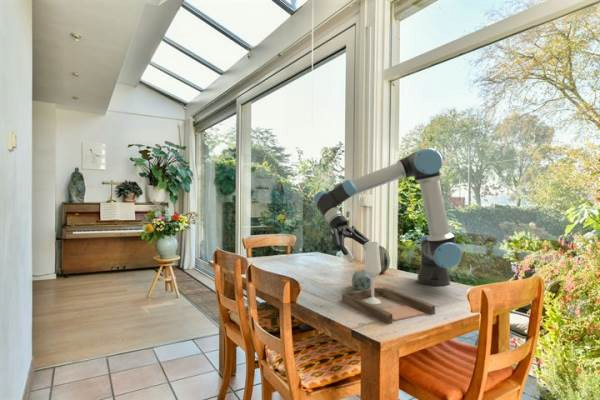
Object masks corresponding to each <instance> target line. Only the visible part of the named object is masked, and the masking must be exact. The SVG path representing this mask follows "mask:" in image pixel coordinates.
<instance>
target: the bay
mask: <svg viewBox="0 0 600 400" xmlns="http://www.w3.org/2000/svg"><path fill="white" fill-rule="evenodd" d="M380 296H383V297H385V298H388V299H391V300H394V301H396V302H398V303H400V304H403V305H406V306H408V307H411V308H413V309H416V310H418V311H421V312H423V313H425V314H428V315H434V314H436V305H435V304H432V303H430V302H426V301H424V300H421V299H418V298H416V297H413V296H411V295H410V296H409V295H408V294H404V293H401V292H399V291H396V290H393V289H390V288H388V287H385V286H383V287H374V297H375V298H376V297H380ZM370 297H371V288H369V289H365V290H359V291H358V290H354V291H353V290H352V291H348V292H344V293H341V302H342V303H345V304H346V305H348V306H351V307H353V308H355V309H357V310H358V311H361V312H362V313H364V314H367V315H368V316H370V317H373V318H375V319H377V320H378V321H381V322H383V323H385V324H387V325H389V324H393V320H392V314H391V313H389V312H386V311H384V309H381V308H380V307H377V306H375V305H374V304H369V303H366V302H365V300H363V299H368V298H370Z"/></svg>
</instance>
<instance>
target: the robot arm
mask: <svg viewBox="0 0 600 400" xmlns="http://www.w3.org/2000/svg"><path fill="white" fill-rule="evenodd" d="M442 166H443V157H442V155H441V153H440V152H439V151H438V150H436V149H434V148H431V147H424V148H421V149H418V150H417V151H414V152H411V154H409V155H407V156H406V157H404V158H401V159H398V160H396V163H393V164H391V165H388V166H385V167H383V168H380V169H378V170H374V171H372V172H369V173H367V174H366V173H365V174H364V175H361V176H359V177H357V178H353V179H350V178H348V179H346V180H344V181H342V182H341V183H339V184H336V185H335V186H334V188H333V189H331V190H330V191H326V190H320V191H318V192H316V194H315V195H314V197H313V198H312V199H313V203H314V204H315V206H316V208H317V209H318V210H319V212H320V214H321V215H322V216H323V218H324V219H325V221H326V222H327V224H328V225H329V227H330V228H331V230H330V234H331V236H332V241H333V245H334V248H335V250H336V249H337V251H339V252H340V251H341V253H342V254H343V256H345V258H346V260H347V261H348V262H349V263H350V264H351V263H352V262H353V261H354V260H355V259H356V258H355V257H354V255H353V254H352V252H351V251H350V249H349V248H348V247H347V245H345V238H347V239H348V238H349V239H352V240H353V241H355V242H357V243H359V244H360V245H361V246H362V248H363V249H364V251H365V252H366V245H367V242H370V238H368V237H366V236H365V235H364V234H363V233H362V232H361V231H359V230H358V229H357V228H356V227H355V225H352V226H349V224H348V220H347V218H346V217H345V216H344V215H343V213H342V212H341V210H340V209H339V207H338V206H340V205H341V204H342V203H344V202H345V201H347V200H348V199H350V198H351V197H353V196H355V195H359V194H362V193H363V192H367V191H370V190H372V189H376V188H378V187H380V186H383V185H386V184H388V183H391V182H394V181H397V180H400V179H403V180H405V179H408V178H410V177H411V178H412V177H414V181H415V182H416V183H418V184H419V188H420V194H421V198H422V202H423V203H422V204H423V207H424V213H425V217H426V222H427V223H426V224H427V229H428V232H429V235H422V236H421V238H420V268H419V270H418V275H417V277H416V278H417V279H416V280H417V282H418V283H420V284H423V285H426V286H435V287H436V286H437V287H440V286H448V285H451V278H450V276H449V272H448V269H452V268H454V267H457V265H458V264H459V263H460V262H461V260H462V255H463V254H462V253H463V252H462V250H461V248H460V246H459V245H458V244H457V242H456V237H455V234H453V233H452V232H451V231H450V226H449V221H448V216H447V211H446V206H445V201H444V197H443V191H442V188H441V187H442V186H441V183H440V182H441V181H440V180H441V178H442V177H443V173H442Z"/></svg>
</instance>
